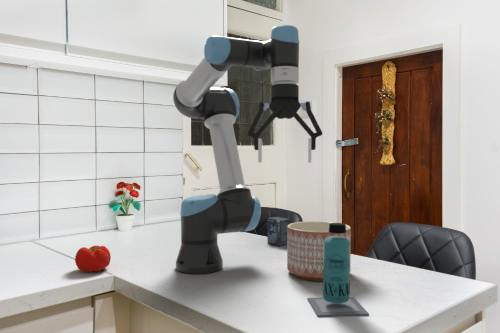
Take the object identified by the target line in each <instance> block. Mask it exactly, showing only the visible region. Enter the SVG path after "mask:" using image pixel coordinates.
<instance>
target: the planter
mask: <svg viewBox="0 0 500 333" xmlns="http://www.w3.org/2000/svg"><path fill="white" fill-rule="evenodd" d="M330 223H336V222H335V221H322V220H320V221H319V220H318V221H317V220H316V221H315V220H313V221H309V220H308V221H307V220H306V221H299V222H297V221H296V222H292V223H291V222H290V224H289V225H288V226H287V245H286V246H287V247H286V248H287V249H286V250H287V252H286V253H287V254H286V256H287V257H286V263H287V264H286V267H287V270H288V272H289V273H291V274H293V275H294V276H295V277H297V278H300V279H302V280H307V281H314V282H315V281H316V282H323V272H324V241H325V240H326V239H327V238H328V237H329V236H342V237H346V238H347V239H348V240H349V241H350V261H351V256H352V254H351V252H352V251H351V246H352V245H351V244H352V243H351V242H352V241H351V240H352V239H351V238H352V237H351V236H352V230H351V226H350V225H348V224H346V223H344V224H345V225H346V233H330V232H329V224H330Z"/></svg>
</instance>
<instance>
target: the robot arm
mask: <svg viewBox="0 0 500 333" xmlns="http://www.w3.org/2000/svg"><path fill="white" fill-rule="evenodd" d="M270 31H271V32H270V39H268V40H266V41H260V40H253V39H251V40H250V39H244V38H238V37H237V38H236V37H230V36H224V35H220V36H219V35H210V36H209V37H208V38H207V39H206V41H205V44H204V49H203V56H204V58H203V59H201V61H200V62H199V63H198V65H197V66H196V67H195V68H194V69H193V71H192V72H191V74H190V75H189V76H188V77H187V78H186V79H185V80H182V81H180V82H179V83H178V84H177V86H176V87H175V89H174V92H173V93H172V94H173V95H172V100H173V104H174V106H175V108H176V109H177V111H178V112H179V113H180V114H181V115H183V116H185V117H187V118H190V119H196V120H197V119H199V120H203V123H204V124H203V125H204V126H205V127H206V128H207V129H209V134H210V140H211V145H212V150H213V155H214V156H213V157H214V162H215V167H216V173H217V178H218V179H217V180H218V185H219V192H218V193H217V195H216V194H214V193H212V194H211V193H208V194H199V195H194V196H193V195H192V196H188V197H186V198H184V199H183V200H182V202H181V204H180V205H181V206H180V248H179V251H178V255H177V258H176V259H175V260H176V261H175V270H176V271H178V272H180V273H183V274H190V275H191V274H193V275H197V274H198V275H199V274H200V275H201V274H202V275H203V274H210V273H214V272H218V271H220V270H222V269H223V268H224V262H223V257H222V255H221V251H220V248H219V244H218V235H219V234H220V235H221V234H229V233H230V234H232V233H245V232H248V231H249V232H250V231H253V230H254V229H255V228H257V226H258V224H259V222H260V219H261V215H262V206H261V203H260V199H258V197H257V196H254V195H252V193H251V189H250V188H249V187H247V186H246V184H245V180H244V175H243V169H242V165H241V164H242V163H241V158H240V155H239V150H238V144H237V143H238V142H237V138H236V135H235V130H234V124H235V123H236V121H237V118H238V117H239V115H240V107H241V106H240V100H239V97H238V95H237V93H236V91H235V90H233V89H231V88H227V87H222V86H221V87H215V84H216V83H217V82H218V81H219V80H220V79H221V78H222V77H223V76H224V74H225V73H227V71H229V69H230V68H231V67H234V66H235V67H246V68H252V69H253V70H255V71H260V72H261V71H267V70H269V69H270V83H271V84H272V85H271V86H270V103H269V102H268V103H266V102H263V101H260V102H259V105H258V111H257V113H256V115H255V117H254V118H253V122H252V123H251V125H250V126H249V129H248V132H247V136H248V137H251V138H253V146H254V147H253V148H254V151H257V153H258V154H257V159H258V160H257V162H258V163H262V162H263V161H262V159H263V156H262V155H263V150H262V149H263V146H262V145H263V140H262V138H260V137H261V136H262V135H263V133H264V132H265V131H266V129H267V128H268V127H269V126H270V125H271V124H272V123H273V121H274V120H275V119H276V118H277V119H278V120H283V119H287V120H291V119H293V118H294V119H295V120H296V121H297V122H298V124H299V125H300V126H301V127H302V128H303V129H304V130H305V132H306V133H307V134H308V136H310V138H309V137H308V139H307V140H308V142H307V144H308V146H307V148H308V149H307V151H308V152H307V153H308V154H307V158H308V159H307V161H308V163H312V151H315V150H316V146H317V145H316V142H317V138H318V137H321V136H322V135H323V131H322V129H321V127H320V125H319V124H318V121H317V119H316V117H315V116H314V113H313V111H312V109H311V103H310V101H306V102H300V101H299V94H300V92H299V91H300V90H299V87H300V86H299V85H298V83H300V82H299V81H300V76H299V75H300V70H299V61H300V60H299V59H300V40H299V38H300V37H299V29H298V28H297V27H296V26H294V25H289V24H281V25H276V26H273V27H272V28H271V30H270ZM213 86H214V87H213ZM268 108H269V109H270V111H271V112H272V113H271V114H270V115H269V116H268V118H267V120H266V121H265V122H264V123H263V124H262V125H261V126H260V128H259V129H258V130H257V127H258V125H259V123H260V120H261V119H262V116H263V114H264V112H266V111H267V109H268ZM301 108H302V109H303V111H306V115H307V116H308V118H309V120H310V122H311V124H312V126H313V128H314V130H315V132H314V131H313V130H312V129H311V127H309V126H308V124H307V123H306V122H305V120H303V118H302V117H301V115H300V114H299V113H298V111H299V110H300V109H301ZM256 130H257V131H256ZM255 131H256V132H255Z"/></svg>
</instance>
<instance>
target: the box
mask: <svg viewBox="0 0 500 333" xmlns="http://www.w3.org/2000/svg"><path fill="white" fill-rule="evenodd" d="M289 224H291V219H290V218H285V217H280V216H273V217H267V244H268V245H269V244H270V245H274V246H278V247H285V246H287V226H288V225H289Z"/></svg>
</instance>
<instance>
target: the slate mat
mask: <svg viewBox="0 0 500 333" xmlns="http://www.w3.org/2000/svg"><path fill="white" fill-rule="evenodd" d="M349 297H350V298H349V300H348V301H347V302H345V303H331V302H328V301H325V300H324V298H323V296H322V297H320V296H319V297H306V299H307V301H308V303H309V305H310V307H311V309H312V310H313V312H314V313H315V314H316V317H321V318H323V317H326V318H327V317H329V318H330V317H357V316H358V317H359V316H360V317H361V316H362V317H363V316H370V313H369V312H368V311H367V310H366V309H365V308H364V307H363V305H362V304H361V303H360V301H358V300H357V299H356V297H355V296H349Z"/></svg>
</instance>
